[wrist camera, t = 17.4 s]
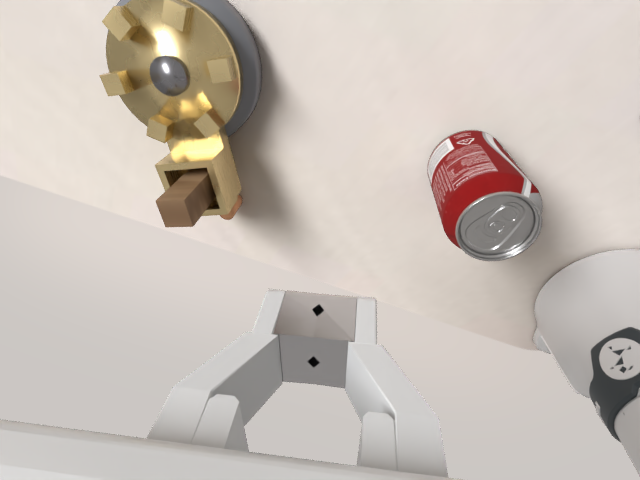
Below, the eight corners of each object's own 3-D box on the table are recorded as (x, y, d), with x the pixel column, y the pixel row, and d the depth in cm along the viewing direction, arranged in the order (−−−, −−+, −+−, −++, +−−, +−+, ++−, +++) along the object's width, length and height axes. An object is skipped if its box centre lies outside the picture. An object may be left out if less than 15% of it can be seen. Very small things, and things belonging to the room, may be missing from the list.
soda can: (411, 169, 36) (426, 235, 26) (464, 112, 32) (503, 164, 23) (462, 206, 37) (493, 282, 28) (517, 155, 34) (575, 222, 24)
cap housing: (317, 59, 31) (312, 64, 29) (238, 208, 41) (230, 222, 38) (140, -59, 28) (117, -64, 26) (99, 132, 38) (80, 142, 35)
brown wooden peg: (222, 188, 35) (193, 226, 30) (199, 189, 36) (165, 227, 30) (216, 165, 34) (184, 200, 28) (192, 166, 34) (155, 201, 29)
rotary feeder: (270, 190, 37) (258, 212, 33) (169, 197, 38) (147, 218, 35) (223, -17, 27) (199, -19, 24) (94, 5, 29) (53, 7, 25)
